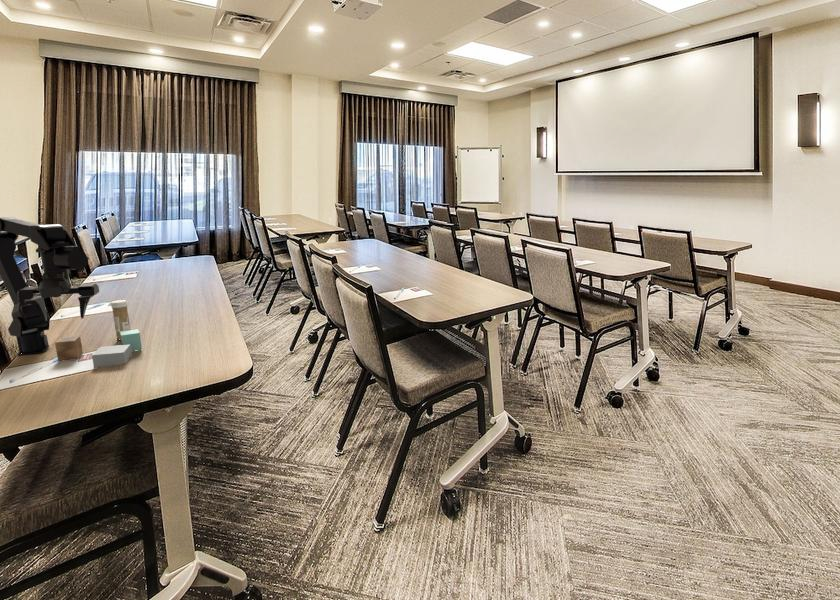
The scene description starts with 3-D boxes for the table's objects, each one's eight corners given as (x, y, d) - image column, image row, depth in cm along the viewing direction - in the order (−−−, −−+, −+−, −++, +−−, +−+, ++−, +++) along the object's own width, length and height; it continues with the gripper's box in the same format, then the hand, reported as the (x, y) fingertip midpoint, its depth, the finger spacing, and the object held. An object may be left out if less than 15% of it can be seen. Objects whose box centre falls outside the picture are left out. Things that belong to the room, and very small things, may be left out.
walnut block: (58, 361, 140) (54, 342, 139) (64, 356, 145) (60, 337, 144) (78, 359, 142) (74, 340, 141) (83, 354, 147) (80, 336, 145)
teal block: (123, 353, 147) (121, 335, 146) (122, 349, 151) (120, 331, 150) (142, 350, 150) (139, 332, 149) (140, 346, 154) (138, 329, 153)
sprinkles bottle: (132, 339, 161) (127, 301, 158) (116, 341, 159) (110, 303, 156) (131, 336, 165) (126, 298, 162) (116, 338, 163) (110, 300, 160)
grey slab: (94, 368, 136) (91, 355, 135) (102, 359, 143) (100, 346, 142) (125, 365, 138) (123, 352, 137) (132, 356, 146) (130, 344, 145)
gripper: (3, 274, 127) (14, 329, 130) (84, 270, 133) (93, 323, 137) (20, 268, 137) (30, 319, 141) (95, 265, 143) (103, 314, 147)
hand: (64, 319), depth 141 cm, fingers open, 9 cm apart
